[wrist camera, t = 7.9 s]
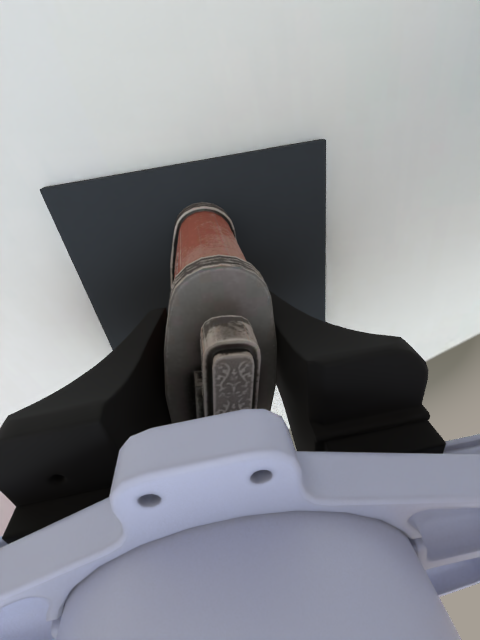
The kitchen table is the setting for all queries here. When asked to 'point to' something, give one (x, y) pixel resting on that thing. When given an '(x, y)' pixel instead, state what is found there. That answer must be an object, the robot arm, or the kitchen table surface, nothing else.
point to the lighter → (216, 322)
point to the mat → (160, 216)
